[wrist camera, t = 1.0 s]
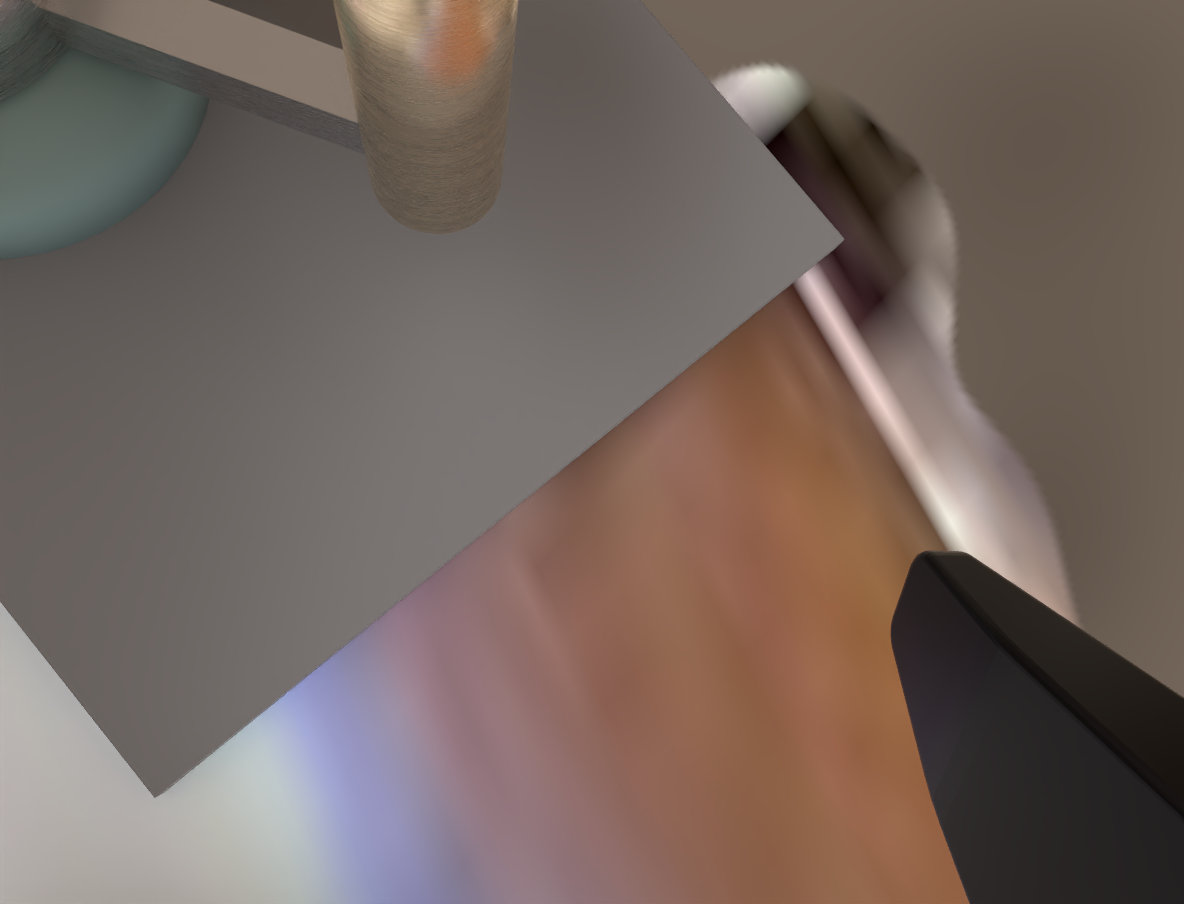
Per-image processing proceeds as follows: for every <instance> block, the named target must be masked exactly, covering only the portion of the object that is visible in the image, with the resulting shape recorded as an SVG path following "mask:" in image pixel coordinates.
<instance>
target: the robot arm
mask: <svg viewBox="0 0 1184 904" xmlns="http://www.w3.org/2000/svg"><path fill="white" fill-rule="evenodd" d="M891 644H892V649H893V653H894V657H895V661H896V665H897V669H898V673H899V676H900V680H901V684H902V688H903V692H904V696H905V700H906V704H907V708H908V712H909V716H910V720H911V724H912V728H913V732H914V736H915V740H916V744H917V747H918V751H919V755H920V759H921V763H922V767H923V771H924V775H925V779H926V782H927V786H928V789H929V793H930V796H931V800H932V802H933V805H934V808H935V811H936V814H937V817H938V820H939V823H940V826H941V828H942V831H943V834H944V836H945V839H946V842H947V844H948V847H949V850H950V852H951V855H952V858H953V860H954V863H955V866H956V868H957V871H958V874H959V876H960V879H961V882H962V884H963V887H964V890H965V892H966V895H967V898H968V900H969V903H970V904H1184V697H1182V696H1181V695H1179V694H1178V693H1176V692H1175V691H1173V690H1172V689H1170V688H1169V687H1167V686H1166V685H1164V684H1163V683H1161V682H1160V681H1158V680H1157V679H1155V678H1154V677H1152V676H1151V675H1149V674H1148V673H1146V672H1145V671H1143V670H1142V669H1140V668H1139V667H1137V666H1136V665H1134V664H1133V663H1131V662H1130V661H1128V660H1127V659H1125V658H1124V657H1122V656H1121V655H1119V654H1118V653H1116V652H1115V651H1113V650H1112V649H1110V648H1109V647H1107V646H1106V645H1104V644H1103V643H1101V642H1100V641H1098V640H1096V639H1095V638H1094V637H1092V636H1091V635H1089V634H1088V633H1086V632H1085V631H1083V630H1082V629H1080V628H1079V627H1077V626H1076V625H1074V624H1073V623H1071V622H1070V621H1068V620H1067V619H1065V618H1064V617H1062V616H1061V615H1059V614H1058V613H1056V612H1055V611H1053V610H1052V609H1050V608H1049V607H1047V606H1046V605H1044V604H1043V603H1041V602H1040V601H1038V600H1037V599H1035V598H1034V597H1032V596H1031V595H1030V594H1028V593H1027V592H1025V591H1024V590H1022V589H1021V588H1019V587H1018V586H1016V585H1015V584H1013V583H1012V582H1010V581H1009V580H1007V579H1006V578H1004V577H1003V576H1001V575H1000V574H998V573H997V572H995V571H994V570H992V569H991V568H989V567H988V566H986V565H985V564H983V563H982V562H980V561H979V560H977V559H976V558H974V557H973V556H971V555H969V554H968V553H964V552H959V551H924V552H922V553H920V554H918V555H917V556H916V557H915V559H914V560H913V562H912V564H911V566H910V569H909V572H908V575H907V578H906V581H905V583H904V586H903V589H902V592H901V595H900V598H899V601H898V604H897V607H896V609H895V612H894V615H893V619H892V624H891Z"/></svg>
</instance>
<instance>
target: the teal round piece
mask: <svg viewBox="0 0 1184 904" xmlns="http://www.w3.org/2000/svg"><path fill="white" fill-rule="evenodd" d="M208 102H209V98H207V97H204V96H201V95H199V94H196V93H193V92H190V91H188V90H185V89H182V88H179V87H176V86H174V85H171V84H168V83H165V82H163V81H160V80H157V79H154V78H152V77H149V76H146V75H143V74H140V73H138V72H135V71H132V70H129V69H127V68H124V67H121V66H118V65H116V64H113V63H110V62H107V61H105V60H102V59H99V58H96V57H93V56H91V55H88V54H85V53H82V52H80V51H77V50H74V49H71V48H69V47H68V48H67V50H66V51H65V52H64V54H63V55H62V56H61V57H60V59H59V60H58V61H57V62H56V63H55V64H54V65H53V66H52V67H51V68H50V69H49V70H48V71H47V72H46V73H45V74H44V75H42V76H41V77H40V78H38V79H37V80H36V81H34V82H33V83H32V84H30V85H29V86H28V87H27V88H25V89H24V90H22V91H20V92H19V93H17V94H15V95H13V96H12V97H10V98H8V99H7V100H5V101H3V102H1V103H0V259H12V258H19V257H25V256H31V255H37V254H43V253H47V252H50V251H53V250H57V249H60V248H64V247H67V246H70V245H73V244H76V243H78V242H80V241H83V240H85V239H87V238H90V237H92V236H94V235H97V234H99V233H101V232H103V231H104V230H106V229H108V228H109V227H111V226H113V225H115V224H116V223H118V222H120V221H122V220H123V219H125V218H126V217H127V216H129V215H130V214H131V213H133V212H134V211H135V210H137V209H138V208H139V207H141V206H142V205H143V204H145V203H146V202H147V201H148V200H149V199H150V198H151V197H152V196H153V195H154V194H155V193H156V192H157V191H158V190H159V189H160V188H161V187H162V186H163V185H164V184H165V183H166V182H167V181H168V180H169V178H170V177H171V176H172V175H173V173H174V172H175V171H176V169H177V168H178V167H179V166H180V164H181V163H182V162H183V160H184V158H185V157H186V155H187V153H188V151H189V150H190V148H191V146H192V145H193V143H194V141H195V139H196V137H197V135H198V132H199V130H200V127H201V125H202V122H203V120H204V117H205V114H206V110H207V106H208Z"/></svg>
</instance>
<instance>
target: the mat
mask: <svg viewBox="0 0 1184 904" xmlns="http://www.w3.org/2000/svg"><path fill="white" fill-rule="evenodd" d="M209 1H212V2H214V3H217V4H220V5H222V6H225V7H228V8H231V9H233V10H236V11H239V12H241V13H244V14H247V15H250V16H252V17H255V18H258V19H260V20H263V21H266V22H269V23H271V24H274V25H277V26H279V27H282V28H285V29H288V30H290V31H293V32H296V33H298V34H301V35H304V36H307V37H309V38H312V39H315V40H317V41H320V42H323V43H326V44H328V45H331V46H334V47H336V48H339V49H342V50H343V47H342V42H341V37H340V32H339V28H338V23H337V18H336V13H335V9H334V4H333V0H209ZM843 240H844V238H843V237H842V236H841V235H840V233H839V232H838V231H837V230H836V229H835V228H834V226H833V225H832V224H831V223H830V222H829V220H828V219H827V218H826V217H825V216H824V215H823V213H822V212H821V211H820V210H819V209H818V208H817V206H816V205H815V204H814V203H813V202H812V201H811V199H810V198H809V197H808V196H807V195H806V193H805V192H804V191H803V190H802V189H801V188H800V186H799V185H798V184H797V183H796V182H795V181H794V179H793V178H792V177H791V176H790V175H789V174H788V172H787V171H786V170H785V169H784V168H783V167H782V165H781V164H780V163H779V162H778V161H777V159H776V158H775V157H774V156H773V155H772V154H771V152H770V151H769V150H768V149H767V148H766V147H765V145H764V144H763V143H762V142H761V141H760V140H759V138H758V137H757V136H756V135H755V134H754V132H753V131H752V130H751V129H750V128H749V127H748V125H747V124H746V123H745V122H744V121H743V120H742V118H741V117H740V116H739V115H738V114H737V113H736V111H735V110H734V109H733V108H732V107H731V106H730V104H729V103H728V102H727V101H726V100H725V98H724V97H723V96H722V95H721V94H720V93H719V91H718V90H717V89H716V88H715V87H714V86H713V84H712V83H711V82H710V81H709V80H708V79H707V77H706V76H705V75H704V74H703V73H702V72H701V70H700V69H699V68H698V67H697V66H696V64H695V63H694V62H693V61H692V60H691V59H690V57H689V56H688V55H687V54H686V53H685V52H684V50H683V49H682V48H681V47H680V46H679V45H678V43H677V42H676V41H675V40H674V39H673V38H672V36H671V35H670V34H669V33H668V32H667V31H666V29H665V28H664V27H663V26H662V25H661V24H660V22H659V21H658V20H657V19H656V18H655V16H653V14H652V13H651V12H650V11H649V10H648V8H647V7H646V6H645V5H644V3H643V2H642V1H641V0H519V1H518V11H517V22H516V33H515V44H514V55H513V65H512V76H511V87H510V98H509V109H508V119H507V130H506V141H505V152H504V163H503V174H502V182H501V188H500V191H499V194H498V197H497V199H496V201H495V203H494V204H493V206H492V208H491V209H490V210H489V211H488V212H487V214H486V215H485V216H484V217H482V218H481V219H480V220H479V221H477V222H476V223H474V224H473V225H471V226H469V227H467V228H465V229H462V230H460V231H456V232H452V233H445V234H431V233H424V232H420V231H417V230H413V229H411V228H409V227H406V226H405V225H403V224H401V223H399V222H398V221H397V220H395V219H394V218H393V217H391V216H390V215H389V214H388V213H387V212H386V211H385V210H384V208H383V207H382V206H381V204H380V203H379V201H378V199H377V198H376V196H375V193H374V191H373V189H372V185H371V181H370V176H369V171H368V167H367V162H366V157H365V154H362V153H359V152H356V151H353V150H351V149H348V148H345V147H342V146H340V145H337V144H334V143H331V142H329V141H326V140H323V139H320V138H317V137H315V136H312V135H309V134H306V133H304V132H301V131H298V130H295V129H293V128H290V127H287V126H284V125H282V124H279V123H276V122H273V121H270V120H268V119H265V118H262V117H259V116H257V115H254V114H251V113H248V112H246V111H243V110H240V109H237V108H235V107H232V106H229V105H226V104H223V103H221V102H218V101H215V100H212V99H210V98H209V102H208V106H207V110H206V114H205V117H204V120H203V122H202V125H201V127H200V130H199V132H198V135H197V137H196V139H195V141H194V143H193V145H192V146H191V148H190V150H189V151H188V153H187V155H186V157H185V158H184V160H183V162H182V163H181V164H180V166H179V167H178V168H177V169H176V171H175V172H174V173H173V175H172V176H171V177H170V178H169V180H168V181H167V182H166V183H165V184H164V185H163V186H162V187H161V188H160V189H159V190H158V191H157V192H156V193H155V194H154V195H153V196H152V197H151V198H150V199H149V200H148V201H147V202H146V203H145V204H143V205H142V206H141V207H139V208H138V209H137V210H135V211H134V212H133V213H131V214H130V215H129V216H127V217H126V218H125V219H123V220H122V221H120V222H118V223H116V224H115V225H113V226H111V227H109V228H108V229H106V230H104V231H103V232H101V233H99V234H97V235H94V236H92V237H90V238H87V239H85V240H83V241H80V242H78V243H76V244H73V245H70V246H67V247H64V248H60V249H57V250H53V251H50V252H47V253H43V254H37V255H31V256H25V257H19V258H12V259H0V602H1V603H2V604H3V606H4V607H5V608H6V609H7V611H8V612H9V613H10V614H11V616H12V617H13V618H14V619H15V621H16V622H17V623H18V625H19V626H20V627H21V628H22V630H23V631H24V632H25V633H26V635H27V636H28V637H29V639H30V640H31V641H32V642H33V644H34V645H35V646H36V647H37V649H38V650H39V651H40V653H41V654H42V655H43V656H44V658H45V659H46V660H47V661H48V663H49V664H50V665H51V667H52V668H53V669H54V670H55V672H56V673H57V674H58V675H59V677H60V678H61V679H62V681H63V682H64V683H65V684H66V686H67V687H68V688H69V689H70V691H71V692H72V693H73V695H74V696H75V697H76V698H77V700H78V701H79V702H80V703H81V705H82V706H83V707H84V709H85V710H86V711H87V712H88V714H89V715H90V716H91V717H92V719H93V720H94V721H95V723H96V724H97V725H98V726H99V728H100V729H101V730H102V731H103V733H104V734H105V735H106V736H107V738H108V739H109V740H110V742H111V743H112V744H113V745H114V747H115V748H116V749H117V750H118V752H119V753H120V754H121V756H122V757H123V758H124V759H125V761H126V762H127V763H128V764H129V766H130V767H131V768H132V770H133V771H134V772H135V773H136V775H137V776H138V777H139V778H140V780H141V781H142V782H143V784H144V785H145V786H146V787H147V789H148V790H149V791H150V792H151V794H152V795H153V796H154V798H155V797H157V796H159V795H160V794H162V793H164V792H165V791H166V790H168V789H169V788H170V787H171V786H173V785H174V784H175V783H176V782H177V781H179V780H180V779H181V778H182V777H184V776H185V775H186V774H187V773H189V772H190V771H191V770H192V769H193V768H195V767H196V766H197V765H198V764H200V763H201V762H202V761H203V760H205V759H206V758H207V757H208V756H210V755H211V754H212V753H213V752H214V751H216V750H217V749H218V748H219V747H221V746H222V745H223V744H224V743H226V742H227V741H228V740H229V739H230V738H232V737H233V736H234V735H235V734H237V733H238V732H239V731H240V730H242V729H243V728H244V727H245V726H247V725H248V724H249V723H250V722H251V721H253V720H254V719H255V718H256V717H258V716H259V715H260V714H261V713H263V712H264V711H265V710H266V709H268V708H269V707H270V706H271V705H272V704H274V703H275V702H276V701H277V700H279V699H280V698H281V697H282V696H284V695H285V694H286V693H287V692H288V691H290V690H291V689H292V688H293V687H295V686H296V685H297V684H298V683H300V682H301V681H302V680H303V679H305V678H306V677H307V676H308V675H309V674H311V673H312V672H313V671H314V670H316V669H317V668H318V667H319V666H321V665H322V664H323V663H324V662H326V661H327V660H328V659H329V658H330V657H332V656H333V655H334V654H335V653H337V652H338V651H339V650H340V649H342V648H343V647H344V646H345V645H346V644H348V643H349V642H350V641H351V640H353V639H354V638H355V637H356V636H358V635H359V634H360V633H361V632H363V631H364V630H365V629H366V628H367V627H369V626H370V625H371V624H372V623H374V622H375V621H376V620H377V619H379V618H380V617H381V616H382V615H384V614H385V613H386V612H387V611H388V610H390V609H391V608H392V607H393V606H395V605H396V604H397V603H398V602H400V601H401V600H402V599H403V598H404V597H406V596H407V595H408V594H409V593H411V592H412V591H413V590H414V589H416V588H417V587H418V586H419V585H421V584H422V583H423V582H424V581H425V580H427V579H428V578H429V577H430V576H432V575H433V574H434V573H435V572H437V571H438V570H439V569H440V568H442V567H443V566H444V565H445V564H446V563H448V562H449V561H450V560H451V559H453V558H454V557H455V556H456V555H458V554H459V553H460V552H461V551H462V550H464V549H465V548H466V547H467V546H469V545H470V544H471V543H472V542H474V541H475V540H476V539H477V538H479V537H480V536H481V535H482V534H483V533H485V532H486V531H487V530H488V529H490V528H491V527H492V526H493V525H495V524H496V523H497V522H498V521H500V520H501V519H502V518H503V517H504V516H506V515H507V514H508V513H509V512H511V511H512V510H513V509H514V508H516V507H517V506H518V505H519V504H520V503H522V502H523V501H524V500H525V499H527V498H528V497H529V496H530V495H532V494H533V493H534V492H535V491H537V490H538V489H539V488H540V487H541V486H543V485H544V484H545V483H546V482H548V481H549V480H550V479H551V478H553V477H554V476H555V475H556V474H558V473H559V472H560V471H561V470H562V469H564V468H565V467H566V466H567V465H569V464H570V463H571V462H572V461H574V460H575V459H576V458H577V457H578V456H580V455H581V454H582V453H583V452H585V451H586V450H587V449H588V448H590V447H591V446H592V445H593V444H595V443H596V442H597V441H598V440H599V439H601V438H602V437H603V436H604V435H606V434H607V433H608V432H609V431H611V430H612V429H613V428H614V427H616V426H617V425H618V424H619V423H620V422H622V421H623V420H624V419H625V418H627V417H628V416H629V415H630V414H632V413H633V412H634V411H635V410H636V409H638V408H639V407H640V406H641V405H643V404H644V403H645V402H646V401H648V400H649V399H650V398H651V397H653V396H654V395H655V394H656V393H657V392H659V391H660V390H661V389H662V388H664V387H665V386H666V385H667V384H669V383H670V382H671V381H672V380H674V379H675V378H676V377H677V376H678V375H680V374H681V373H682V372H683V371H685V370H686V369H687V368H688V367H690V366H691V365H692V364H693V363H694V362H696V361H697V360H698V359H699V358H701V357H702V356H703V355H704V354H706V353H707V352H708V351H709V350H711V349H712V348H713V347H714V346H715V345H717V344H718V343H719V342H720V341H722V340H723V339H724V338H725V337H727V336H728V335H729V334H730V333H732V332H733V331H734V330H735V329H736V328H738V327H739V326H740V325H741V324H743V323H744V322H745V321H746V320H748V319H749V318H750V317H751V316H752V315H754V314H755V313H756V312H757V311H759V310H760V309H761V308H762V307H764V306H765V305H766V304H767V303H769V302H770V301H771V300H772V299H773V298H775V297H776V296H777V295H778V294H780V293H781V292H782V291H783V290H785V289H786V288H787V287H788V286H790V285H791V284H792V283H793V282H794V281H796V280H797V279H798V278H799V277H801V276H802V275H803V274H804V273H806V272H807V271H808V270H809V269H810V268H812V267H813V266H814V265H815V264H817V263H818V262H819V261H820V260H822V259H823V258H824V257H825V256H827V255H828V254H829V253H830V252H831V251H833V250H834V249H835V248H836V247H837V246H838V245H839V244H840V243H841V242H842V241H843Z"/></svg>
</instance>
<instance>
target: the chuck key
mask: <svg viewBox="0 0 1184 904" xmlns="http://www.w3.org/2000/svg"><path fill="white" fill-rule="evenodd" d="M518 1H519V0H333V4H334V9H335V13H336V18H337V23H338V28H339V32H340V37H341V42H342V47H343V50H342V49H339V48H336V47H334V46H331V45H328V44H326V43H323V42H320V41H317V40H315V39H312V38H309V37H307V36H304V35H301V34H298V33H296V32H293V31H290V30H288V29H285V28H282V27H279V26H277V25H274V24H271V23H269V22H266V21H263V20H260V19H258V18H255V17H252V16H250V15H247V14H244V13H241V12H239V11H236V10H233V9H231V8H228V7H225V6H222V5H220V4H217V3H214V2H212V1H209V0H0V103H1V102H3V101H5V100H7V99H8V98H10V97H12V96H13V95H15V94H17V93H19V92H20V91H22V90H24V89H25V88H27V87H28V86H29V85H30V84H32V83H33V82H34V81H36V80H37V79H38V78H40V77H41V76H42V75H44V74H45V73H46V72H47V71H48V70H49V69H50V68H51V67H52V66H53V65H54V64H55V63H56V62H57V61H58V60H59V59H60V57H61V56H62V55H63V54H64V52H65V51H66V50H67V48H68V47H69V48H71V49H74V50H77V51H80V52H82V53H85V54H88V55H91V56H93V57H96V58H99V59H102V60H105V61H107V62H110V63H113V64H116V65H118V66H121V67H124V68H127V69H129V70H132V71H135V72H138V73H140V74H143V75H146V76H149V77H152V78H154V79H157V80H160V81H163V82H165V83H168V84H171V85H174V86H176V87H179V88H182V89H185V90H188V91H190V92H193V93H196V94H199V95H201V96H204V97H207V98H210V99H212V100H215V101H218V102H221V103H223V104H226V105H229V106H232V107H235V108H237V109H240V110H243V111H246V112H248V113H251V114H254V115H257V116H259V117H262V118H265V119H268V120H270V121H273V122H276V123H279V124H282V125H284V126H287V127H290V128H293V129H295V130H298V131H301V132H304V133H306V134H309V135H312V136H315V137H317V138H320V139H323V140H326V141H329V142H331V143H334V144H337V145H340V146H342V147H345V148H348V149H351V150H353V151H356V152H359V153H362V154H365V157H366V162H367V167H368V171H369V176H370V181H371V185H372V189H373V191H374V193H375V196H376V198H377V199H378V201H379V203H380V204H381V206H382V207H383V208H384V210H385V211H386V212H387V213H388V214H389V215H390V216H391V217H393V218H394V219H395V220H397V221H398V222H399V223H401V224H403V225H405V226H406V227H409V228H411V229H413V230H417V231H420V232H424V233H431V234H445V233H452V232H456V231H460V230H462V229H465V228H467V227H469V226H471V225H473V224H474V223H476V222H477V221H479V220H480V219H481V218H482V217H484V216H485V215H486V214H487V212H488V211H489V210H490V209H491V208H492V206H493V204H494V203H495V201H496V199H497V197H498V194H499V191H500V188H501V182H502V174H503V163H504V152H505V141H506V130H507V119H508V109H509V98H510V87H511V76H512V65H513V55H514V44H515V33H516V22H517V11H518Z"/></svg>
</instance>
